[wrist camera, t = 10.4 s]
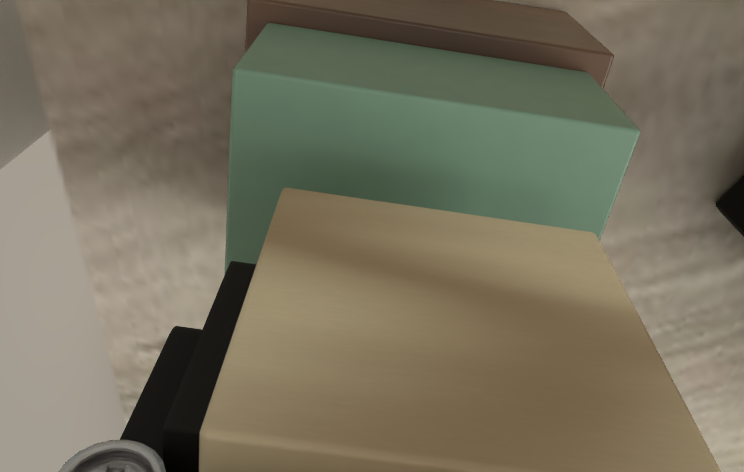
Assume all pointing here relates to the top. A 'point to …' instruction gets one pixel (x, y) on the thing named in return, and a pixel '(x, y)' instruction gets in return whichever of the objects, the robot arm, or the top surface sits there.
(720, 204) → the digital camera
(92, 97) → the top surface
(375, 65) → the top block
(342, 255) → the toy block
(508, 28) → the bottom block
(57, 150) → the top surface
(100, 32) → the top surface
